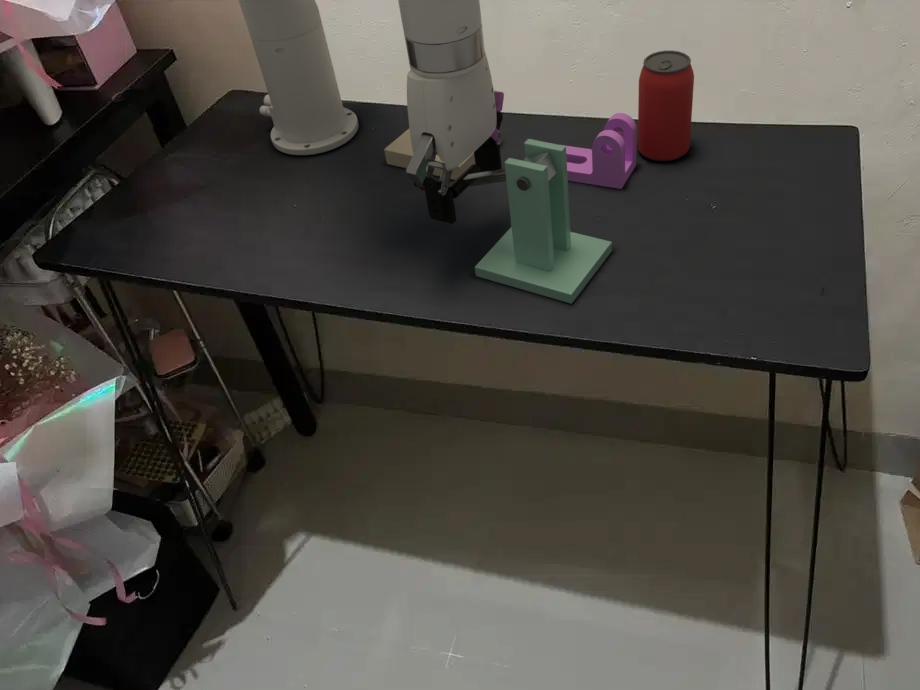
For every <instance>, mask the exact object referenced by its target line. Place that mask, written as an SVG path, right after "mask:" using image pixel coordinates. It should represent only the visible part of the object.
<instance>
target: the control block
mask: <svg viewBox="0 0 920 690" xmlns="http://www.w3.org/2000/svg"><path fill="white" fill-rule="evenodd" d="M497 144H499V146H500V145H501V141H500V142H499V143H497ZM383 151H384V155H385V161H386V164H387V165H390V166H394V167H400V168H403V169H407V166H408V164H409V162H410V160H411V158H412V156H413V150H412V143H411V136H410V129H409V128H408V129H406V130H405V131H404V132H403V133H402V134H401V135H399V136H398V137H397V138H396V139H395V140H393V141H392V142H391V143H390V144H389V145H387V146H385V148H384V149H383ZM435 161H438V162H443V161H441V159H440V157H439V156H438V155H437V154H436V158H435ZM443 163H444V162H443ZM472 164H475V157H474V153H473V154H472V155H471V156H469V157H468V158H467V159H466V160H465V161H464V162H463V163H462V164H461V165H459V166H458V167H457V168H455V169H453V170H452V174H451V178H450V180H453V181H455V180H456V179H457V178H458V177H459V176H460V175H461V174H462V173H463V172H464V171H466V170H467V169H468V168H469V167H470V166H471V165H472ZM441 171H442V169H440V168H436V167H434V171H433V175H432V176H437V177H440V175H441Z"/></svg>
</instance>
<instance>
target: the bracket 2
mask: <svg viewBox="0 0 920 690" xmlns="http://www.w3.org/2000/svg"><path fill="white" fill-rule="evenodd" d="M618 128H619V129H621V130H622V131H620V130H619V129H618ZM637 135H638V126H637V124H636V121H635V120H634V119H633V117H631V116H630V115H629V114H627V113H623V112H618V113H614V114H612V115H611V116H610V118H609V119H608V120H607V122H606V123H605V125H604V127H603V130H602V131H600V132H599V133H598V134H597V136H596V137H595V138H594V140H593V141H592V144H591V148H585V147H578V146H571V145H564V144H561V145H562V146H566V157H567V176H568V182H574V183H575V182H576V183H581V184H587V185H593V186H599V187H606V188H611V189H612V188H613V189H619V190H622V189H623V187H624V186H625V184H626V183H627V181H628V179H629V178H630V176H631V174H632V173H633V172H634V170H635V168H636V166H637Z"/></svg>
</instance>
